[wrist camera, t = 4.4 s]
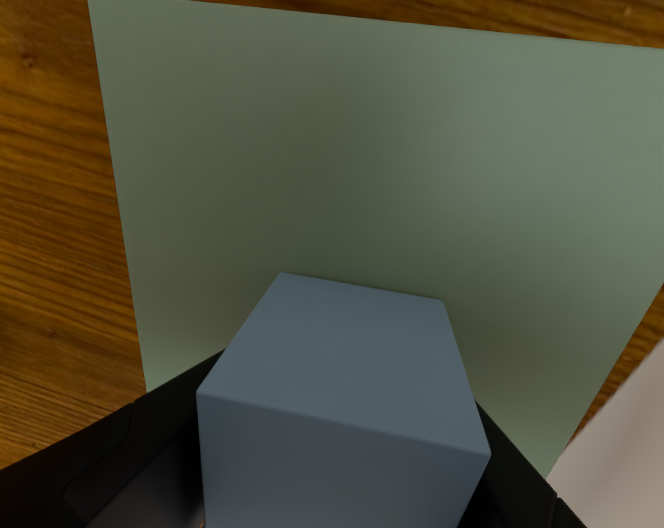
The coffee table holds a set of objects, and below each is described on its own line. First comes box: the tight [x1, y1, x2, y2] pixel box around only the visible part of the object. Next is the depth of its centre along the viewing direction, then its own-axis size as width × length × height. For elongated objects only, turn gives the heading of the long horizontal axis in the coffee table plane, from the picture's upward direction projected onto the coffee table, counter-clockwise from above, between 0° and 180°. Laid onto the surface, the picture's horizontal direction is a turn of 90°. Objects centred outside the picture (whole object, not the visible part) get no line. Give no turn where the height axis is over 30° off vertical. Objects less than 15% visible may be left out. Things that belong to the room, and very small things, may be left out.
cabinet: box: [88, 0, 664, 480], centre depth 13 cm, size 15×13×9 cm
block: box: [196, 272, 491, 528], centre depth 7 cm, size 4×4×4 cm
